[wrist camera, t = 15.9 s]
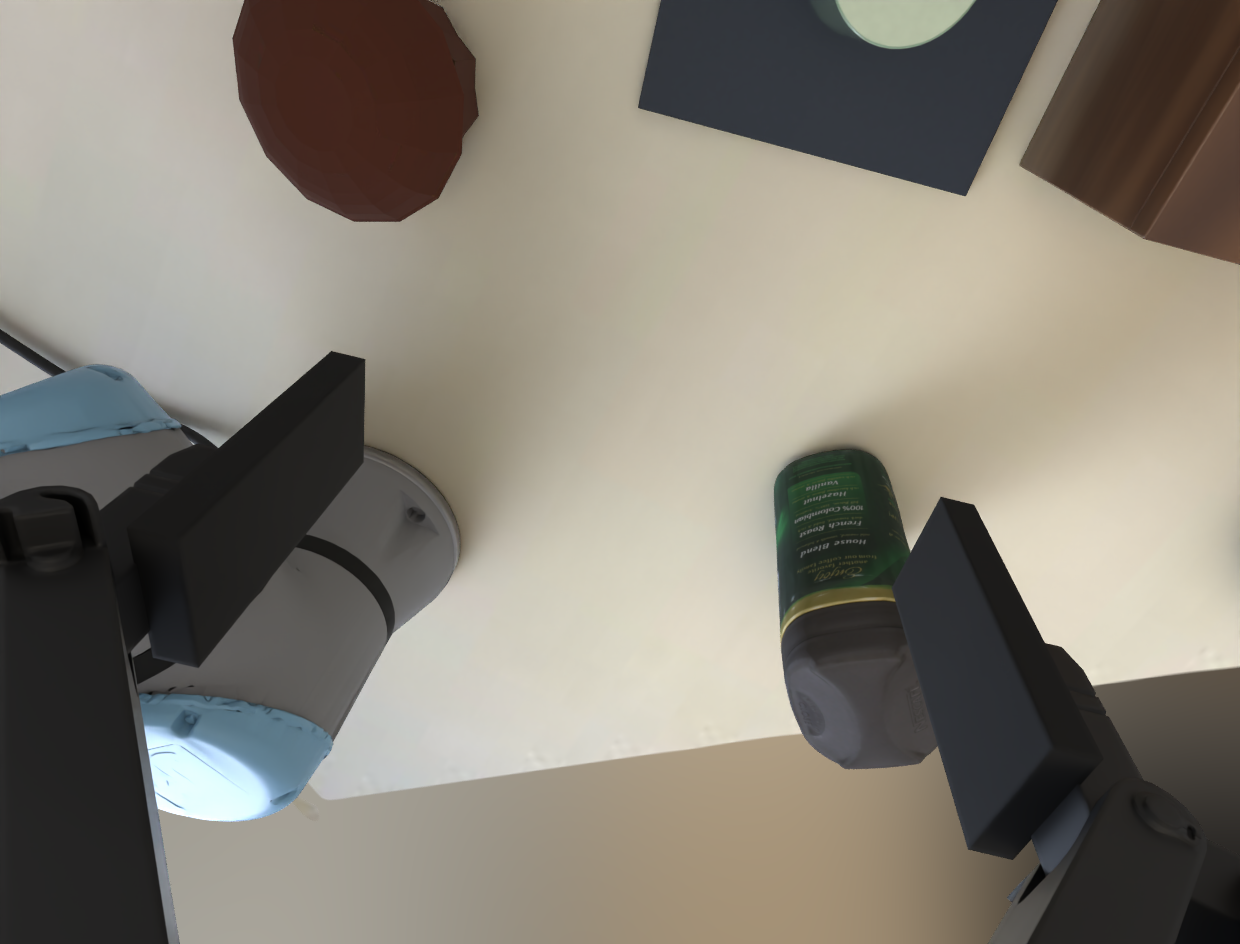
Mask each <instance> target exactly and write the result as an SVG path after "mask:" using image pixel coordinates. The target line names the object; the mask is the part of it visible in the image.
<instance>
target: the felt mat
mask: <svg viewBox="0 0 1240 944" xmlns="http://www.w3.org/2000/svg"><path fill="white" fill-rule="evenodd" d="M1057 1H1058V0H976V1H975V3H974V4H973V6H972V7H971V8H970V9H969V11H968V12H967V13H966V14H965V15H964V17H963V18H962V19H961V20H960V21H959V22H958V23H957V24H955V25H954V26H953V27H952V28H951V29H950V30H948V31H947V32H945V33H944V34H943V35H941V36H940V37H938V38H936V39H934V40H932V41H930V42H928V43H925V44H923V45H920V46H916V47H912V48H907V49H887V48H882V47H878V46H875V45H872V44H869V43H866V42H862V41H859V40H856V39H853V38H850V37H847V36H844V35H841V34H838V33H836V32H834V31H832V30H830V29H829V28H828V27H826V26H825V25H824V24H823V23H822V22H821V21H820V20H819V18H818V17H817V15H816V14H815V12H814V10H813V8H812V6H811V3H810V0H661V3H660V8H659V12H658V17H657V22H656V26H655V31H654V36H653V40H652V45H651V50H650V54H649V59H648V64H647V68H646V73H645V77H644V82H643V87H642V91H641V96H640V101H639V105H638V108H640V109H644V110H648V111H651V112H655V113H659V114H663V115H666V116H670V117H674V118H677V119H681V120H685V121H688V122H692V123H696V124H700V125H703V126H707V127H711V128H714V129H718V130H722V131H725V132H729V133H733V134H737V135H740V136H744V137H748V138H751V139H755V140H759V141H762V142H766V143H770V144H774V145H777V146H781V147H785V148H788V149H792V150H796V151H800V152H803V153H807V154H811V155H814V156H818V157H822V158H825V159H829V160H833V161H837V162H840V163H844V164H848V165H851V166H855V167H859V168H862V169H866V170H870V171H874V172H877V173H881V174H885V175H888V176H892V177H896V178H900V179H903V180H907V181H911V182H914V183H918V184H922V185H925V186H929V187H933V188H937V189H940V190H944V191H948V192H951V193H955V194H959V195H962V196H966V195H967V193H968V190H969V188H970V186H971V184H972V182H973V180H974V178H975V176H976V173H977V171H978V169H979V167H980V165H981V163H982V161H983V158H984V156H985V154H986V152H987V150H988V148H989V146H990V144H991V141H992V139H993V137H994V135H995V133H996V131H997V129H998V127H999V124H1000V122H1001V120H1002V118H1003V116H1004V114H1005V112H1006V110H1007V107H1008V105H1009V103H1010V101H1011V99H1012V97H1013V95H1014V92H1015V90H1016V88H1017V86H1018V84H1019V82H1020V80H1021V78H1022V75H1023V73H1024V71H1025V69H1026V67H1027V65H1028V63H1029V61H1030V58H1031V56H1032V54H1033V52H1034V50H1035V48H1036V46H1037V44H1038V41H1039V39H1040V37H1041V35H1042V33H1043V31H1044V29H1045V27H1046V24H1047V22H1048V20H1049V18H1050V16H1051V14H1052V12H1053V9H1054V7H1055V5H1056V3H1057Z"/></svg>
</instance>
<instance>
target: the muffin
mask: <svg viewBox="0 0 1240 944" xmlns="http://www.w3.org/2000/svg"><path fill="white" fill-rule="evenodd" d="M233 47H234V56H235V65H236V74H237V83H238V92H239V100H240V102H241V104H242V106H243V108H244V110H245V113H246V115H247V117H248V119H249V121H250V123H251V125H252V127H253V129H254V132H255V134H256V136H257V138H258V140H259V142H260V144H261V146H262V148H263V150H264V153H265V155H266V157H267V158H268V159H269V160H270V161H271V162H272V163H273V164H274V165H275V166H276V167H277V168H278V169H279V170H280V171H281V172H282V173H283V174H284V175H285V176H286V178H287V179H288V180H289V181H290V182H291V183H292V184H293V185H294V186H295V187H296V188H297V189H298V190H299V191H300V192H301V193H302V194H303V195H304V196H305V197H306V198H307V199H308V200H310V201H312V202H314V203H316V204H319V205H321V206H323V207H325V208H327V209H329V210H331V211H333V212H335V213H337V214H339V215H341V216H343V217H345V218H347V219H350V220H352V221H354V222H400V221H402V220H404V219H405V218H407V217H408V216H410V215H412V214H413V213H415V212H417V211H418V210H420V209H422V208H423V207H425V206H426V205H428V204H430V203H431V202H433V201H435V200H436V199H438V198H439V196H440V194H441V192H442V190H443V188H444V187H445V185H446V183H447V181H448V179H449V177H450V175H451V173H452V171H453V169H454V167H455V166H456V164H457V162H458V160H459V158H460V156H461V154H462V138H463V136H464V134H465V133H466V132H467V130H468V129H469V128H470V126H471V125H472V124H473V122H474V121H475V120H476V118H477V117H478V116H479V115H478V108H477V100H476V93H475V62H476V59H475V58H474V56H473V55H472V54H471V52H470V51H469V50H468V48H467V47H466V46H465V44H464V43H463V42H462V41H461V39H460V38H459V37H458V35H457V33H456V32H455V30H454V28H453V26H452V24H451V22H450V21H449V19H448V17H447V15H446V13H445V11H444V9H443V8H442V7H440V6H438V5H436V4H434V3H432V2H430V1H428V0H244V4H243V7H242V10H241V13H240V16H239V19H238V23H237V26H236V29H235V32H234V35H233Z"/></svg>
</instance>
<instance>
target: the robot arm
mask: <svg viewBox="0 0 1240 944" xmlns="http://www.w3.org/2000/svg"><path fill="white" fill-rule="evenodd" d="M0 343H1V344H3V345H4V346H6V347H7V348H9V349H10V350H12V351H14V352H15V353H17V354H18V355H20V356H21V357H23V358H24V359H26V360H27V361H29V362H30V363H32V364H34V365H35V366H37V367H38V368H40V369H41V370H43V371H45V372H46V373H48V374H49V375H51V376H53V377H50V378H47V379H44V380H42V381H39V382H36V383H33V384H31V385H28V386H25V387H23V388H20V389H17V390H14V391H12V392H9V393H6V394H4V395H1V396H0V944H180V942H179V936H178V930H177V924H176V918H175V913H174V906H173V899H172V893H171V887H170V882H169V875H168V869H167V863H166V857H165V851H164V845H163V839H162V833H161V827H160V820H159V814H158V808H159V809H162V810H165V811H168V812H171V813H175V814H179V815H185V816H188V817H192V818H198V819H204V820H213V821H244V820H252V819H258V818H261V817H265V816H268V815H271V814H273V813H275V812H278V811H280V810H281V809H283V808H284V807H286V806H288V805H289V804H290V803H291V802H293V801H294V800H295V799H296V798H297V796H298V795H299V794H300V793H301V791H302V790H303V788H304V787H305V785H306V784H307V782H308V781H309V779H310V778H311V776H312V775H313V773H314V772H315V770H316V769H317V767H318V766H319V764H320V763H321V761H322V760H323V759H324V758H325V757H326V756H327V755H328V754H329V753H330V751H331V749H332V745H333V741H334V739H335V737H336V736H337V734H338V732H339V730H340V728H341V726H342V725H343V723H344V721H345V719H346V717H347V715H348V713H349V712H350V710H351V708H352V706H353V704H354V702H355V701H356V699H357V697H358V695H359V693H360V691H361V689H362V688H363V686H364V684H365V682H366V680H367V678H368V677H369V675H370V673H371V671H372V669H373V667H374V666H375V664H376V662H377V660H378V658H379V657H380V655H381V653H382V651H383V649H384V647H385V645H386V644H387V642H388V640H389V638H390V637H391V635H392V633H394V632H395V631H396V630H397V629H399V628H400V627H401V626H402V625H404V624H405V623H406V622H407V621H408V620H410V619H411V618H412V617H413V616H415V615H416V614H417V613H418V612H419V611H421V610H422V609H423V608H424V607H426V606H427V605H428V604H429V603H430V602H432V601H433V600H434V599H435V598H436V597H437V596H438V595H439V593H440V592H441V591H442V590H443V588H444V587H445V586H446V584H447V583H448V581H449V579H450V577H451V575H452V573H453V571H454V570H455V568H456V565H457V562H458V560H459V555H460V534H459V529H458V526H457V522H456V520H455V517H454V515H453V513H452V511H451V509H450V507H449V505H448V504H447V502H446V500H445V499H444V497H443V496H442V495H441V494H440V492H439V491H438V490H437V489H436V488H435V486H434V485H433V484H432V483H431V482H430V481H429V480H428V479H426V478H425V477H424V476H423V475H422V474H421V473H419V472H418V471H417V470H416V469H414V468H413V467H411V466H410V465H408V464H407V463H405V462H403V461H402V460H400V459H398V458H396V457H394V456H392V455H390V454H388V453H385V452H383V451H380V450H377V449H374V448H371V447H367V446H364V407H365V359H362V358H358V357H354V356H350V355H345V354H341V353H337V352H333V351H331V352H330V353H329V354H328V355H326V356H325V357H324V358H323V359H322V360H321V361H319V362H318V363H317V364H316V365H315V366H314V367H312V368H311V369H310V370H309V371H308V372H307V373H306V374H304V375H303V376H302V377H301V378H300V379H299V380H297V381H296V382H295V383H294V384H293V385H292V386H290V387H289V388H288V389H287V390H286V391H285V392H283V393H282V394H281V395H280V396H279V397H278V398H276V399H275V400H274V401H273V402H272V403H271V404H269V405H268V406H267V407H266V408H265V409H264V410H262V411H261V412H260V413H259V414H258V415H257V416H255V417H254V418H253V419H252V420H251V421H250V422H248V423H247V424H246V425H245V426H244V427H243V428H242V429H240V430H239V431H238V432H237V433H236V434H235V435H233V436H232V437H231V438H230V439H229V440H228V441H226V442H225V443H224V444H223V445H222V446H221V447H219V448H217V447H216V446H215V445H214V444H212V443H211V442H210V441H209V440H207V439H206V438H205V437H203V436H202V435H200V434H199V433H197V432H195V431H194V430H192V429H190V428H188V427H186V426H184V425H182V424H180V423H179V422H178V421H177V420H176V419H172V418H170V417H169V416H168V415H167V413H166V412H165V411H164V410H163V409H162V408H161V407H160V406H159V405H158V404H157V403H156V402H155V400H154V399H153V398H152V397H151V396H150V395H149V394H148V392H147V391H146V390H145V389H144V388H143V387H142V386H141V384H140V383H139V382H138V381H137V380H136V379H135V378H134V377H133V376H131V375H130V374H129V373H127V372H125V371H123V370H122V369H119V368H116V367H113V366H108V365H101V364H95V365H87V366H83V367H79V368H76V369H73V370H70V371H67V372H66V371H64V370H62V369H61V368H59V367H57V366H56V365H54V364H53V363H51V362H50V361H48V360H46V359H45V358H43V357H42V356H40V355H39V354H37V353H36V352H34V351H33V350H31V349H30V348H28V347H27V346H25V345H23V344H22V343H20V342H19V341H17V340H16V339H14V338H13V337H11V336H10V335H8V334H7V333H5V332H4V331H2V330H1V329H0ZM190 441H191V442H193V443H194V444H195V445H193V444H192V443H191V442H190ZM892 591H893V595H894V598H895V602H896V605H897V608H898V612H899V615H900V619H901V622H902V625H903V629H904V632H905V636H906V639H907V643H908V646H909V649H910V653H911V656H912V660H913V663H914V666H915V670H916V673H917V677H918V680H919V683H920V687H921V690H922V694H923V697H924V700H925V704H926V707H927V711H928V714H929V718H930V721H931V724H932V728H933V731H934V735H935V738H936V741H937V745H938V748H939V752H940V755H941V758H942V762H943V765H944V768H945V772H946V775H947V779H948V782H949V786H950V789H951V792H952V796H953V799H954V803H955V806H956V809H957V813H958V816H959V820H960V823H961V826H962V830H963V833H964V836H965V840H966V844H967V847H968V850H973V851H977V852H981V853H986V854H990V855H994V856H998V857H1003V858H1007V859H1011V860H1013V859H1014V858H1015V857H1016V856H1017V855H1018V854H1019V852H1020V851H1021V850H1022V849H1023V848H1024V847H1025V846H1026V845H1027V843H1028V842H1029V841H1030V840H1031V839H1032V842H1033V844H1034V847H1035V850H1036V852H1037V855H1038V857H1039V860H1040V863H1039V864H1038V865H1037V866H1036V867H1035V868H1034V869H1033V870H1032V872H1030V874H1029V875H1028V876H1027V877H1026V878H1025V879H1024V880H1023V881H1022V882H1021V883H1020V884H1019V885H1018V886H1017V887H1016V888H1015V889H1014V891H1013V892H1012V893H1011V894H1010V895H1009V896H1008V897H1007V898H1008V899H1009V900H1010V901H1011V902H1012V904H1011V905H1010V907H1009V909H1008V910H1007V912H1006V914H1005V916H1004V917H1003V919H1002V921H1001V922H1000V924H999V926H998V928H997V929H996V931H995V932H994V934H993V936H992V937H991V939H990V941H989V943H988V944H1240V855H1239V854H1236V853H1234V852H1232V851H1230V850H1228V849H1226V848H1224V847H1222V846H1220V845H1218V844H1216V843H1214V842H1212V841H1210V840H1208V839H1207V838H1206V837H1205V834H1204V832H1203V830H1202V828H1201V826H1200V824H1199V822H1198V821H1197V820H1196V819H1195V818H1194V816H1193V815H1192V814H1191V813H1190V812H1189V810H1188V809H1187V808H1186V807H1185V806H1184V805H1183V804H1181V803H1180V802H1179V801H1178V800H1177V799H1176V798H1174V797H1173V796H1172V795H1171V794H1169V793H1168V792H1166V791H1165V790H1163V789H1161V788H1159V787H1158V786H1156V785H1154V784H1152V783H1150V782H1147V781H1144V780H1143V778H1142V776H1141V774H1140V772H1139V771H1138V769H1137V767H1136V765H1135V763H1134V762H1133V760H1132V758H1131V756H1130V754H1129V752H1128V751H1127V749H1126V747H1125V745H1124V743H1123V742H1122V740H1121V738H1120V736H1119V734H1118V732H1117V731H1116V729H1115V727H1114V725H1113V723H1112V721H1111V720H1110V718H1109V717H1108V716H1106V715H1105V714H1106V711H1105V709H1104V707H1103V705H1102V703H1101V701H1100V700H1099V698H1098V697H1095V694H1096V693H1095V691H1094V689H1093V687H1092V685H1091V683H1090V681H1089V680H1088V678H1087V676H1086V674H1085V672H1084V670H1083V669H1082V668H1081V667H1080V666H1079V665H1078V664H1077V663H1076V662H1075V661H1074V660H1073V659H1072V658H1071V657H1070V655H1069V654H1068V653H1067V652H1066V651H1065V650H1064V649H1063V648H1062V647H1059V646H1055V645H1051V644H1047V643H1045V642H1044V640H1043V639H1042V637H1041V635H1040V633H1039V631H1038V629H1037V627H1036V625H1035V623H1034V621H1033V619H1032V617H1031V615H1030V613H1029V611H1028V609H1027V607H1026V605H1025V603H1024V601H1023V599H1022V597H1021V596H1020V594H1019V592H1018V590H1017V588H1016V586H1015V584H1014V582H1013V580H1012V578H1011V576H1010V574H1009V572H1008V570H1007V568H1006V566H1005V564H1004V562H1003V560H1002V558H1001V556H1000V554H999V553H998V551H997V549H996V547H995V545H994V543H993V541H992V539H991V537H990V535H989V533H988V531H987V529H986V527H985V525H984V523H983V521H982V519H981V517H980V515H979V513H978V511H977V510H976V508H975V506H974V505H973V504H968V503H964V502H960V501H956V500H952V499H948V498H943V497H940V499H939V501H938V503H937V505H936V507H935V508H934V510H933V512H932V514H931V516H930V518H929V520H928V521H927V523H926V525H925V527H924V529H923V531H922V533H921V534H920V536H919V538H918V540H917V542H916V544H915V546H914V547H913V549H912V551H911V553H910V555H909V557H908V558H907V560H906V562H905V564H904V566H903V568H902V570H901V571H900V573H899V575H898V577H897V579H896V581H895V583H894V584H893V586H892Z"/></svg>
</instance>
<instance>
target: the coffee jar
mask: <svg viewBox="0 0 1240 944" xmlns="http://www.w3.org/2000/svg"><path fill="white" fill-rule="evenodd" d="M774 507H775V526H776V543H777V571H778V593H779V613H780V643H781V653H782V661H783V669H784V679H785V684H786V688H787V693H788V697H789V700H790V704H791V707H792V710H793V713H794V715H795V718H796V720H797V723H798V725H799V727H800V730H801V732H802V734H803V735H804V737H805V739H806V740H807V741H808V742H809V744H810V745H811V746H812V747H813V748H814V749H816V750H817V751H818V752H819V753H821V754H822V755H824V756H825V757H827V758H828V759H830V760H832V761H834V762H836V763H838V764H839V765H840V766H841V767H843V768H845V769H869V768H887V767H898V766H907V765H914V764H919V763H921V762H922V761H923V759H924V758H925V757H926V756H927V755H929V754H930V753H931V752H932V751H933V750H934V749H935V748H936V747H937V746H938V745H937V741H936V738H935V735H934V731H933V728H932V724H931V721H930V718H929V714H928V711H927V707H926V704H925V700H924V697H923V694H922V690H921V687H920V683H919V680H918V677H917V673H916V670H915V666H914V663H913V660H912V656H911V653H910V649H909V646H908V643H907V639H906V636H905V632H904V629H903V625H902V622H901V619H900V615H899V612H898V608H897V605H896V602H895V598H894V595H893V591H892V586H893V584H894V583H895V581H896V579H897V577H898V575H899V573H900V571H901V570H902V568H903V566H904V564H905V562H906V560H907V558H908V557H909V555H910V549H909V546H908V543H907V539H906V536H905V532H904V528H903V524H902V520H901V516H900V512H899V509H898V505H897V502H896V499H895V495H894V492H893V489H892V485H891V482H890V480H889V477H888V474H887V472H886V470H885V468H884V466H883V465H882V463H881V462H880V461H879V460H878V459H877V458H875V457H874V456H872V455H871V454H869V453H866V452H863V451H859V450H834V451H829V452H822V453H818V454H814V455H810V456H807V457H804V458H801V459H799V460H797V461H794V462H793V463H791V464H789V465H788V466H786V467H785V468H784V469H783V470H782V471H781V473H780V474H779V475H778V477H777V479H776V482H775V486H774Z"/></svg>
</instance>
